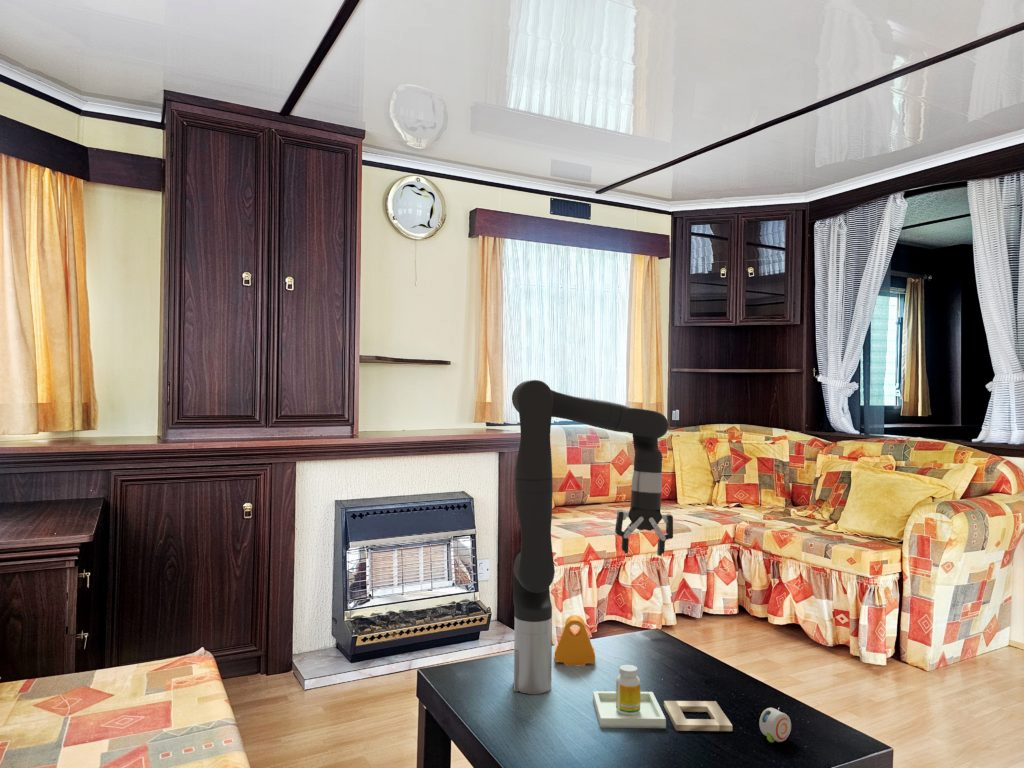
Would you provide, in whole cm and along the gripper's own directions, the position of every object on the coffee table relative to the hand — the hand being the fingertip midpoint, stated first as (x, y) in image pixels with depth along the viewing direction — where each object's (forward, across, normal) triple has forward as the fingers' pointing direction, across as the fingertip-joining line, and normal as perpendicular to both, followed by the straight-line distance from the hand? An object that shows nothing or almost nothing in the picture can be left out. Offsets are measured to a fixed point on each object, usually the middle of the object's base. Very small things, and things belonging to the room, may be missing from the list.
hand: (642, 554), depth 175 cm
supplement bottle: (+32, -5, -17) cm, 37 cm away
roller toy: (+31, +24, -28) cm, 49 cm away
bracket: (+33, -14, +15) cm, 38 cm away
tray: (+33, -5, -17) cm, 37 cm away
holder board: (+32, +10, -19) cm, 39 cm away
